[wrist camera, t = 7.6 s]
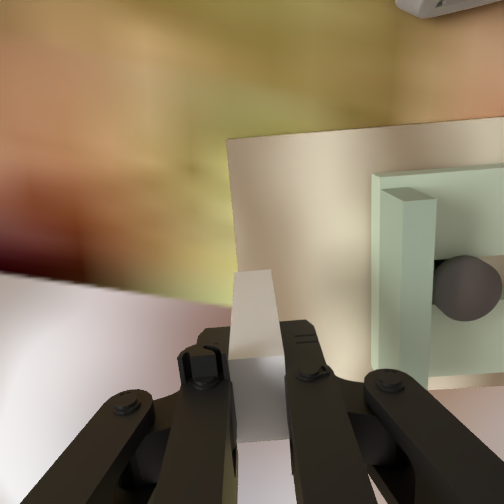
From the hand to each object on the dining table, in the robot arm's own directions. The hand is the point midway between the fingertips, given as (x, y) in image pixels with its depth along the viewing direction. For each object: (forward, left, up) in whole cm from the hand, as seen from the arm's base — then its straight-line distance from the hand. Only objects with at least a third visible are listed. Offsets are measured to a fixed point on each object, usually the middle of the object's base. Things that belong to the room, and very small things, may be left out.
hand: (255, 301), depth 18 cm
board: (+14, -1, -5) cm, 14 cm away
